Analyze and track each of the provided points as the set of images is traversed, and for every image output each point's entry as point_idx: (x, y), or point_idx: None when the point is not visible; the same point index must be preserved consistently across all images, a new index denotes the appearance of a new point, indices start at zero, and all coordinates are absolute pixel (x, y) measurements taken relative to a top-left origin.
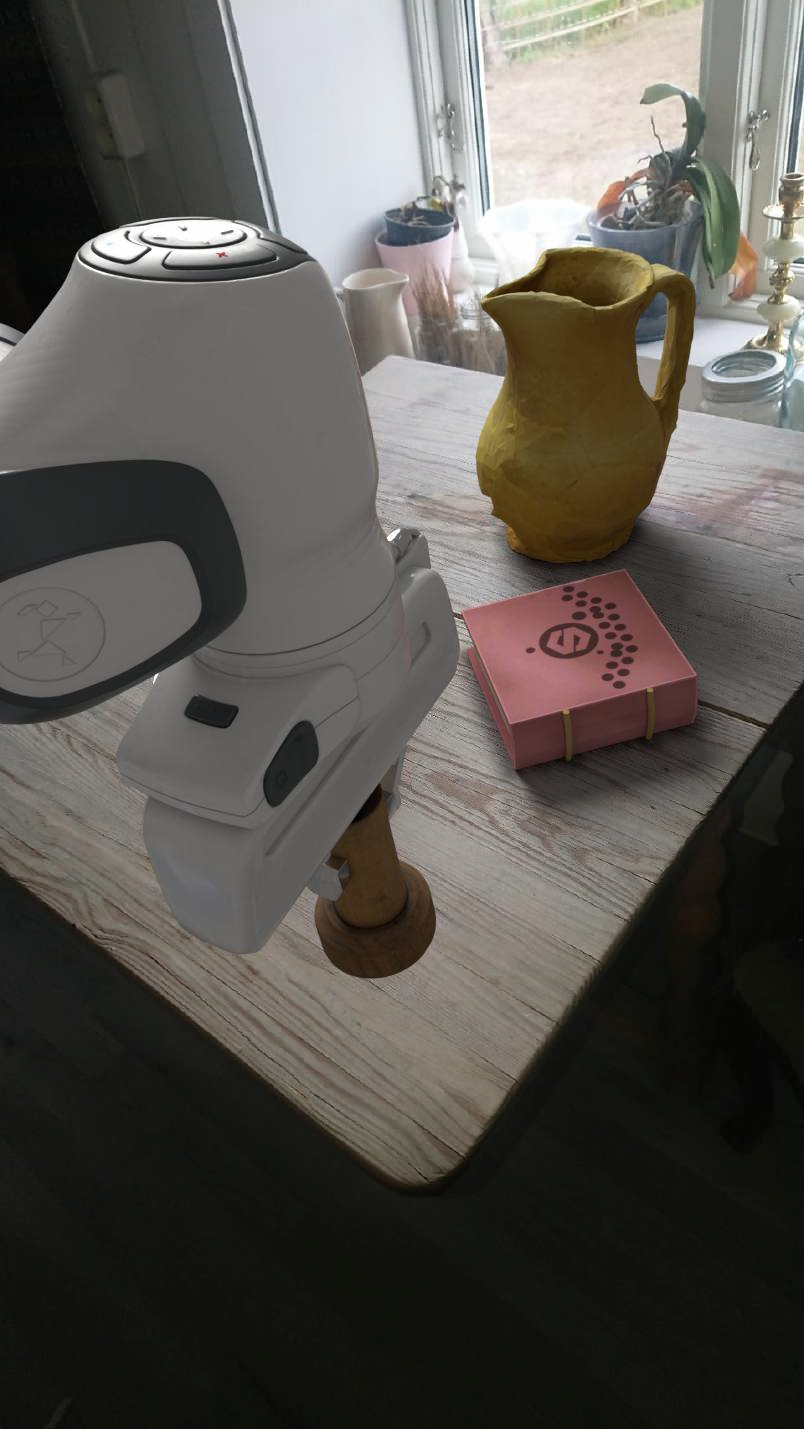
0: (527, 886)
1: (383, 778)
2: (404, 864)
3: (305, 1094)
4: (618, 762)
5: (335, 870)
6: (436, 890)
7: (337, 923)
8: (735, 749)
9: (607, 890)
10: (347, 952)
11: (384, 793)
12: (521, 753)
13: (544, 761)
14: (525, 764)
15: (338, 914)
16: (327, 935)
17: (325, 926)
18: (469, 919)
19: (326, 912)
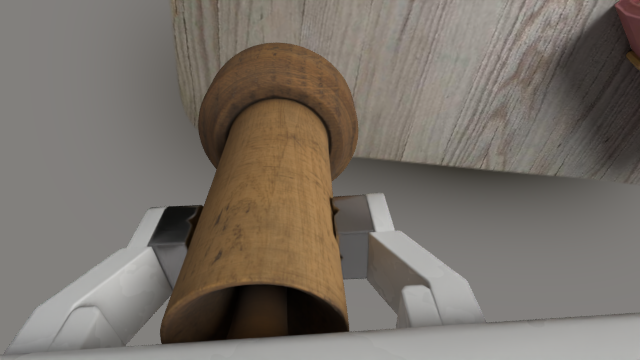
0: (455, 87)
1: (384, 280)
2: (351, 144)
3: (177, 10)
4: (619, 101)
5: (159, 306)
6: (429, 5)
7: (219, 132)
8: (628, 178)
9: (465, 145)
10: (204, 149)
11: (362, 269)
12: (633, 22)
13: (626, 33)
14: (621, 17)
15: (232, 124)
16: (204, 117)
17: (211, 110)
18: (405, 56)
19: (224, 107)
